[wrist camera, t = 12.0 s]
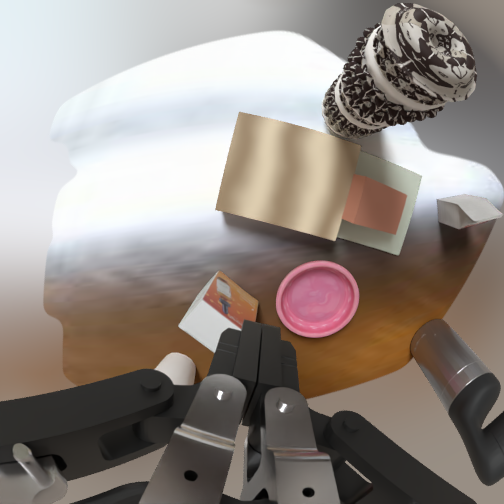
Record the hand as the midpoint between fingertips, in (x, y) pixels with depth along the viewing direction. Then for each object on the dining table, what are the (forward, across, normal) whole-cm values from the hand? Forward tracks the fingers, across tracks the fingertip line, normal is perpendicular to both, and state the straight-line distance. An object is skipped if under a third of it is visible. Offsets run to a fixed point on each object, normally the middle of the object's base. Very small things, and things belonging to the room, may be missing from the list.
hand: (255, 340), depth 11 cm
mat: (+29, -15, -7) cm, 33 cm away
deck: (+29, -1, -7) cm, 30 cm away
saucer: (+29, -10, +9) cm, 32 cm away
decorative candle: (+29, -7, -19) cm, 35 cm away
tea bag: (+29, -29, -11) cm, 43 cm away
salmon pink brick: (+27, -13, -7) cm, 31 cm away
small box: (+29, +3, +13) cm, 32 cm away
